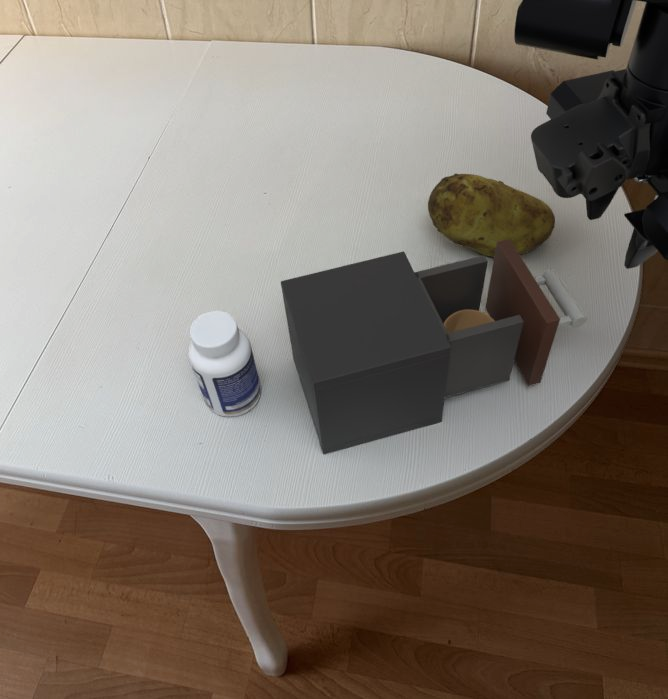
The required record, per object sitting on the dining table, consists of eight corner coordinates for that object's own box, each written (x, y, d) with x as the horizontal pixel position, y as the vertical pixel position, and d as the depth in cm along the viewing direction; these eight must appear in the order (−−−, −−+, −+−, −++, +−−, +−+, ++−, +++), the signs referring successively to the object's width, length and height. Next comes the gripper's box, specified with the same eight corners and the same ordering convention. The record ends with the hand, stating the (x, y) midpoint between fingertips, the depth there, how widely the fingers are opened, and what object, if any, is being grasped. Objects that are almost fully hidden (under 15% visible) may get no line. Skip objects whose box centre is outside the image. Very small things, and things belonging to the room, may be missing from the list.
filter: (505, 340, 65) (508, 323, 63) (480, 378, 63) (483, 361, 61) (456, 319, 67) (459, 301, 65) (430, 354, 65) (432, 337, 63)
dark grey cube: (401, 330, 69) (404, 250, 61) (441, 422, 63) (451, 347, 54) (293, 358, 68) (280, 280, 59) (323, 454, 61) (313, 383, 53)
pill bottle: (270, 378, 67) (256, 311, 59) (248, 425, 64) (229, 360, 56) (219, 365, 68) (198, 297, 60) (194, 410, 65) (169, 345, 57)
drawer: (536, 294, 70) (554, 227, 63) (584, 371, 64) (609, 306, 57) (402, 329, 68) (405, 263, 61) (439, 410, 62) (446, 349, 55)
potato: (539, 283, 72) (554, 225, 66) (418, 256, 75) (421, 198, 69) (553, 230, 77) (569, 170, 70) (439, 206, 80) (443, 148, 74)
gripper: (500, 23, 51) (476, 193, 63) (637, 182, 40) (576, 350, 52) (640, -6, 52) (590, 166, 64) (810, 140, 41) (711, 314, 53)
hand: (611, 241), depth 58 cm, fingers open, 6 cm apart
